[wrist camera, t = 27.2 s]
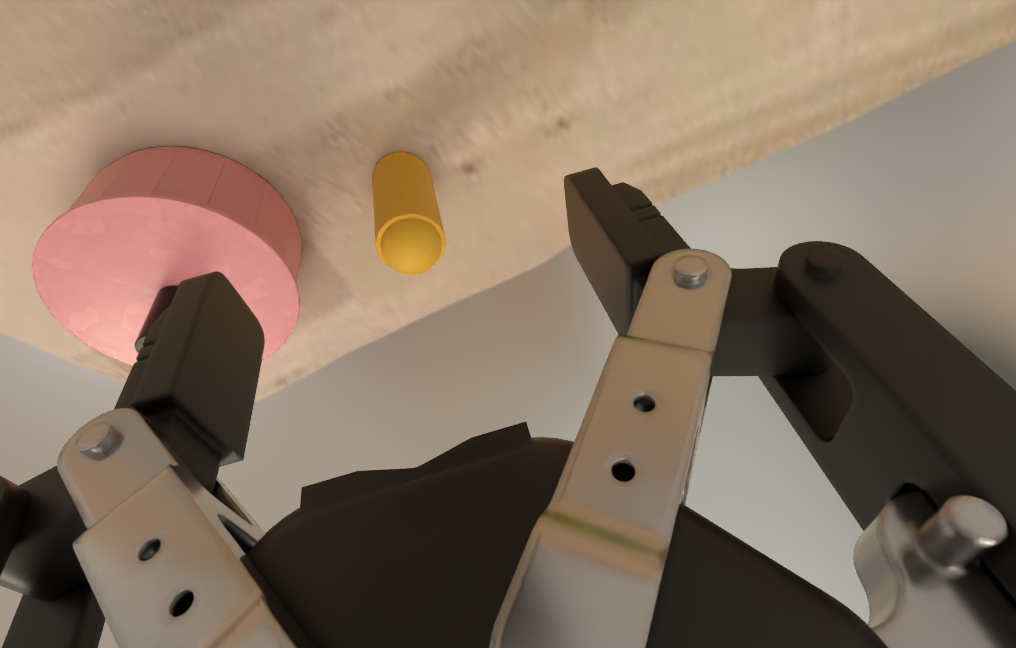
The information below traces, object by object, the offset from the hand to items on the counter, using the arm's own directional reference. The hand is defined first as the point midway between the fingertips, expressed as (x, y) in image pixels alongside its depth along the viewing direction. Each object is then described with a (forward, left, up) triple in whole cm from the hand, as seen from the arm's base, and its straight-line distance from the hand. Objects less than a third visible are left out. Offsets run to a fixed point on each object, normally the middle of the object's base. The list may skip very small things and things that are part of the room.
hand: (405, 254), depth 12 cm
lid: (+15, -16, -21) cm, 30 cm away
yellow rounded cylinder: (+12, 0, -28) cm, 31 cm away
